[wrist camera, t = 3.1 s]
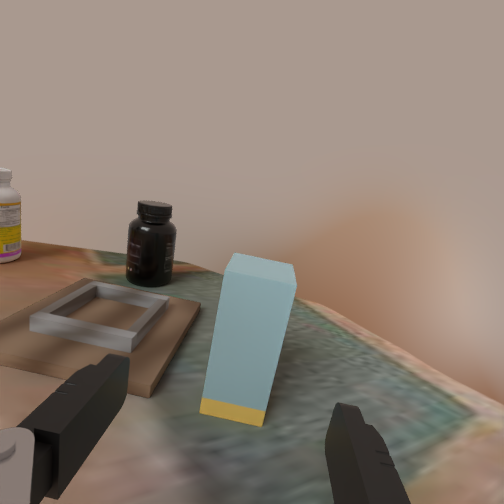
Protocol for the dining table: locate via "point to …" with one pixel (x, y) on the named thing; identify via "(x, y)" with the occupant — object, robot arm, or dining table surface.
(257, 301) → the peg
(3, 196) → the supplement bottle
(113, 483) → the dining table surface
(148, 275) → the supplement bottle
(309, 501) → the dining table surface
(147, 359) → the socket board
